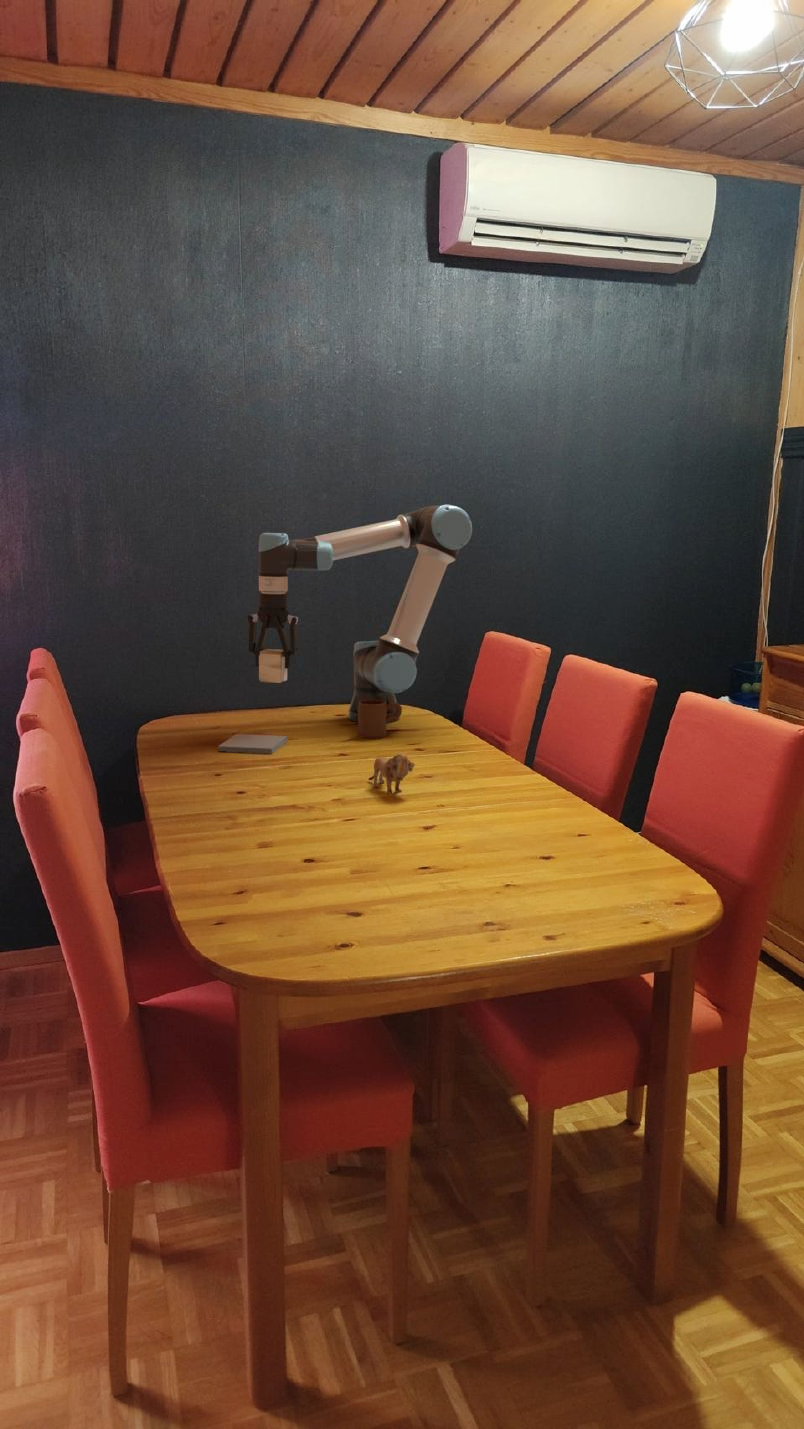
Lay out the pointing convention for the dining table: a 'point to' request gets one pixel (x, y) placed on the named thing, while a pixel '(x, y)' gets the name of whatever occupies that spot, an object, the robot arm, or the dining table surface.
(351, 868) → the dining table surface
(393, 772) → the lion figurine
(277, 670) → the oak block
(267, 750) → the slate board
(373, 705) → the mug
